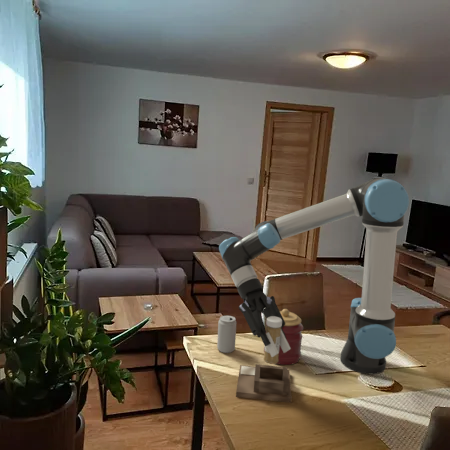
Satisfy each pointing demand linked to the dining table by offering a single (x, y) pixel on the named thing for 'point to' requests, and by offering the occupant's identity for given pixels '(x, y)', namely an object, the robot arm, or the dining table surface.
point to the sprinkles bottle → (273, 337)
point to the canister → (291, 338)
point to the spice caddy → (264, 383)
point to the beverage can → (226, 334)
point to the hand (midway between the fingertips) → (281, 352)
